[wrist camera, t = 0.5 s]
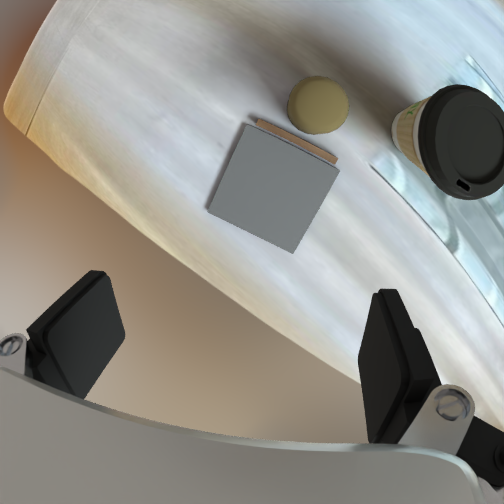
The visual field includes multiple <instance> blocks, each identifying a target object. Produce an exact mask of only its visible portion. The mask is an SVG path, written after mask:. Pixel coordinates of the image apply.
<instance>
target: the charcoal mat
mask: <svg viewBox="0 0 504 504" xmlns="http://www.w3.org/2000/svg"><path fill="white" fill-rule="evenodd" d="M339 172H340V170H338V169H336V168H334V167H333V166H331V165H329V164H327V163H325V162H323V161H322V160H320V159H318V158H316V157H314V156H312V155H310V154H308V153H306V152H304V151H303V150H301V149H299V148H297V147H295V146H293V145H291V144H289V143H287V142H285V141H283V140H281V139H278V138H276V137H274V136H272V135H270V134H268V133H266V132H264V131H262V130H259V129H257V128H255V127H253V126H251V125H248V124H247V125H246V127H245V130H244V132H243V134H242V136H241V138H240V140H239V142H238V144H237V147H236V149H235V151H234V153H233V155H232V157H231V160H230V162H229V164H228V166H227V168H226V171H225V173H224V175H223V177H222V180H221V182H220V184H219V186H218V189H217V191H216V193H215V196H214V198H213V200H212V203H211V205H210V207H209V210H208V213H210V214H212V215H214V216H216V217H218V218H221V219H223V220H225V221H227V222H229V223H231V224H233V225H235V226H237V227H239V228H241V229H243V230H245V231H247V232H249V233H251V234H253V235H255V236H257V237H260V238H262V239H264V240H266V241H268V242H270V243H272V244H274V245H276V246H278V247H280V248H282V249H284V250H286V251H288V252H290V253H292V254H293V253H294V251H295V250H296V248H297V246H298V245H299V243H300V241H301V239H302V238H303V236H304V234H305V232H306V231H307V229H308V227H309V225H310V224H311V222H312V220H313V218H314V217H315V215H316V213H317V211H318V210H319V208H320V206H321V204H322V203H323V201H324V199H325V197H326V195H327V194H328V192H329V190H330V188H331V187H332V185H333V183H334V181H335V179H336V177H337V176H338V174H339Z"/></svg>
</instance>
